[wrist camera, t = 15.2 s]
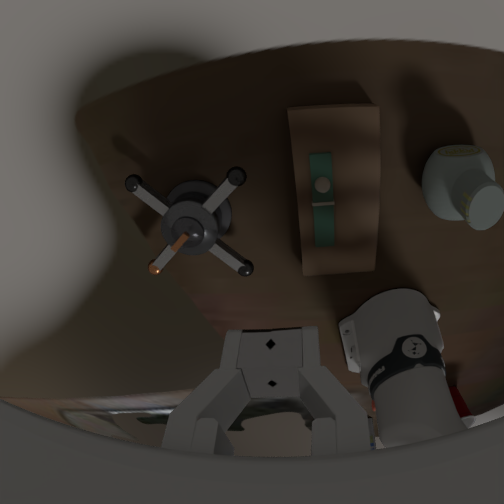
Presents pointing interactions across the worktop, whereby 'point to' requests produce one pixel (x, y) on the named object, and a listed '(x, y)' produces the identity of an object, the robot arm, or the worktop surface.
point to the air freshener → (463, 186)
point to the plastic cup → (462, 407)
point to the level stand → (337, 185)
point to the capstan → (192, 221)
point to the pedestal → (206, 189)
